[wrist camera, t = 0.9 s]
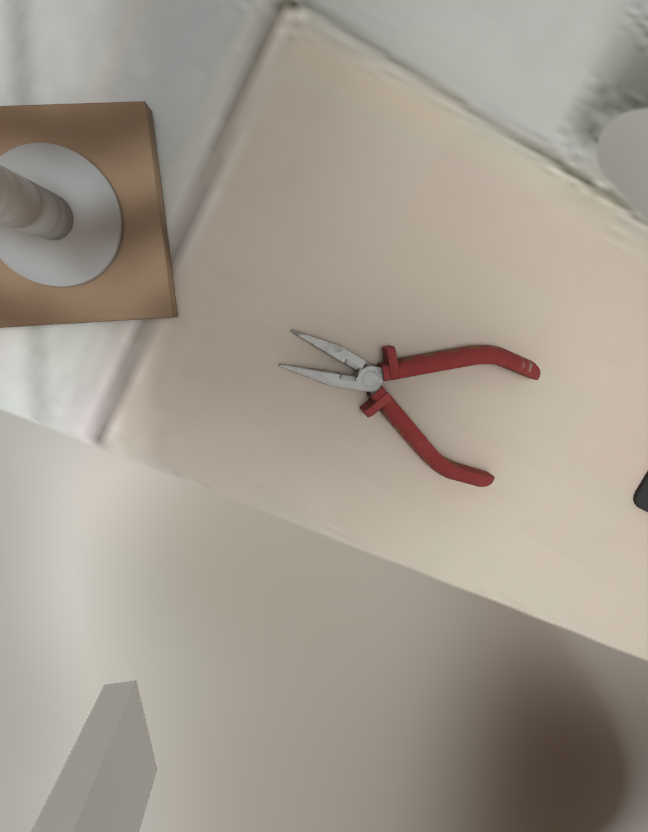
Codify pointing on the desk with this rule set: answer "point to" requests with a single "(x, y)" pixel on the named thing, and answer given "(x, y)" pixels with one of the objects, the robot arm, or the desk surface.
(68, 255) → the bobbin stand
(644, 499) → the phone
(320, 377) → the pliers
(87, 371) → the desk surface
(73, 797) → the robot arm
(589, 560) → the desk surface
